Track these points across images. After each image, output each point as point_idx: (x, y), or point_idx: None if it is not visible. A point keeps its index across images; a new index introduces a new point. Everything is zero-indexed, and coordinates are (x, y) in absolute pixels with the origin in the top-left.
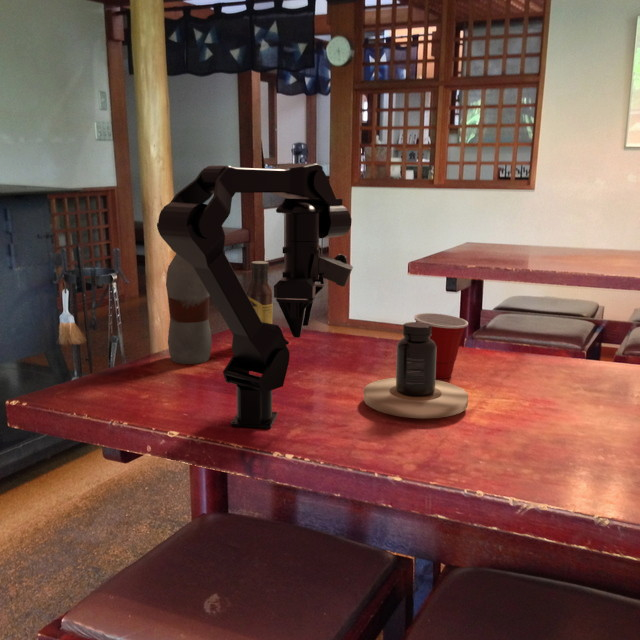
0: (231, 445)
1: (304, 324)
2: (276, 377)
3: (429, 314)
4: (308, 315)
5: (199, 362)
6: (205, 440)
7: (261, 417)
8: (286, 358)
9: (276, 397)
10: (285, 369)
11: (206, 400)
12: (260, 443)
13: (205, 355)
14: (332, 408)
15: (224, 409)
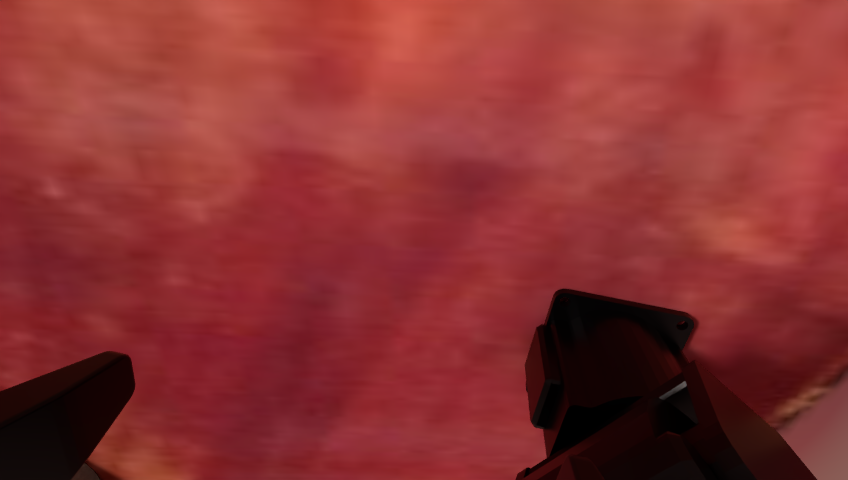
0: (799, 412)
1: (124, 381)
2: (751, 427)
3: None
4: (38, 419)
5: (83, 465)
6: None
7: (679, 357)
8: (745, 456)
9: (365, 281)
10: (721, 408)
11: (405, 455)
12: (811, 342)
13: None
14: (487, 81)
15: (483, 419)
